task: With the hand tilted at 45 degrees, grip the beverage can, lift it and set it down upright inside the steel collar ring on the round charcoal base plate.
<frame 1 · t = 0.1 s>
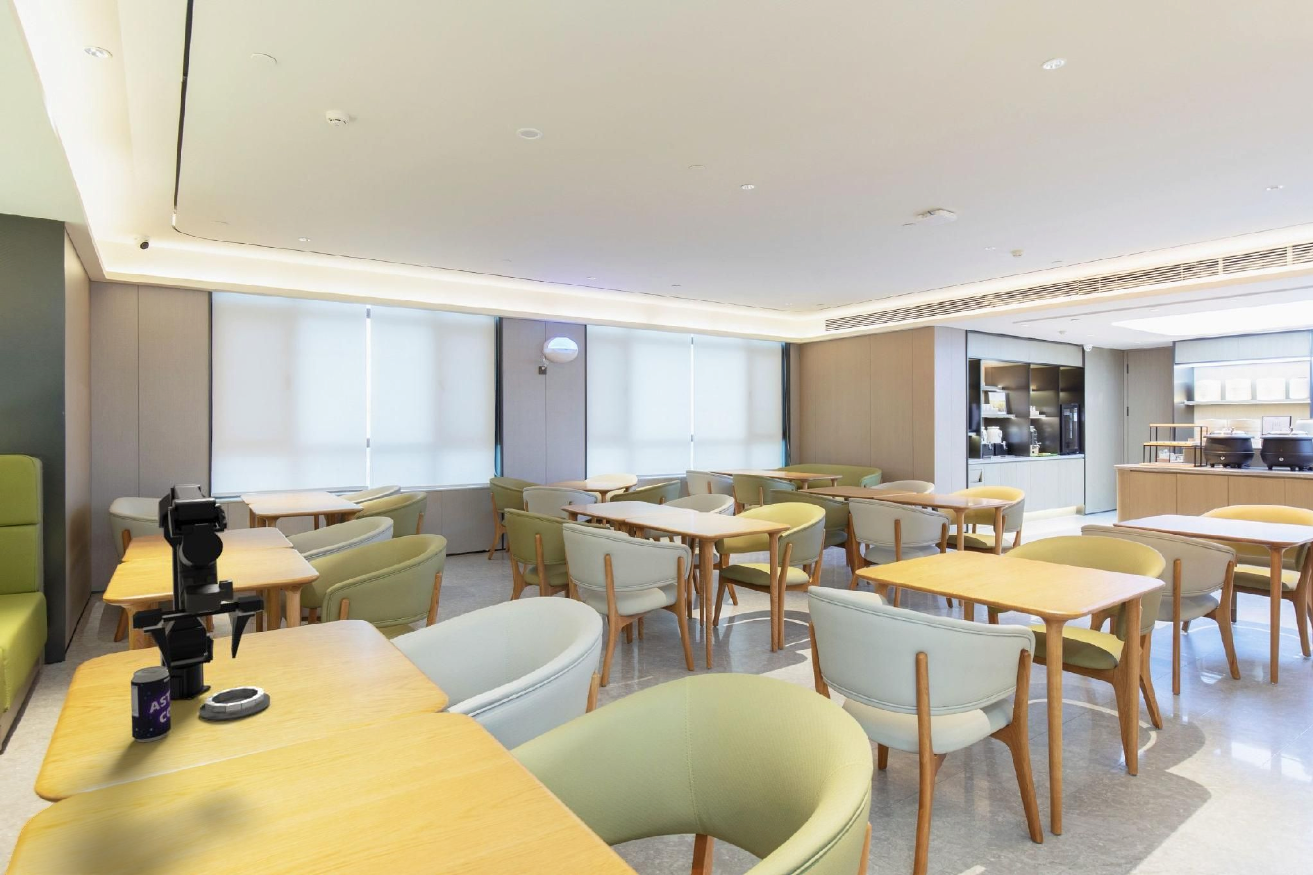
hand: (202, 663, 123), 16 cm above the table, tool pointing down, fingers open, 9 cm apart
beverage can: (151, 738, 130), on the table
collar base: (235, 708, 143), on the table
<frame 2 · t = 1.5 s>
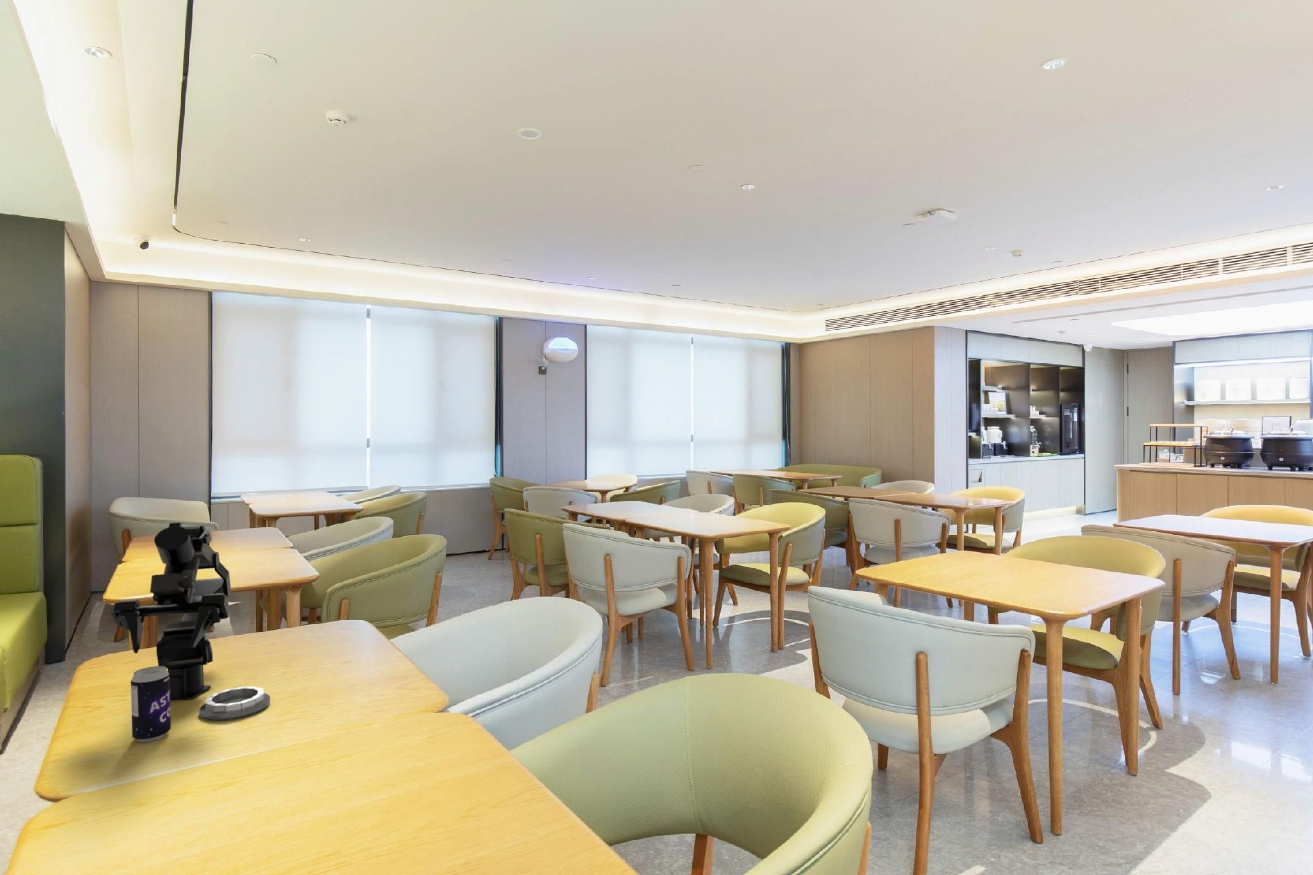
hand: (164, 649, 137), 13 cm above the table, tool tilted 45°, fingers open, 9 cm apart
nothing on the table moved.
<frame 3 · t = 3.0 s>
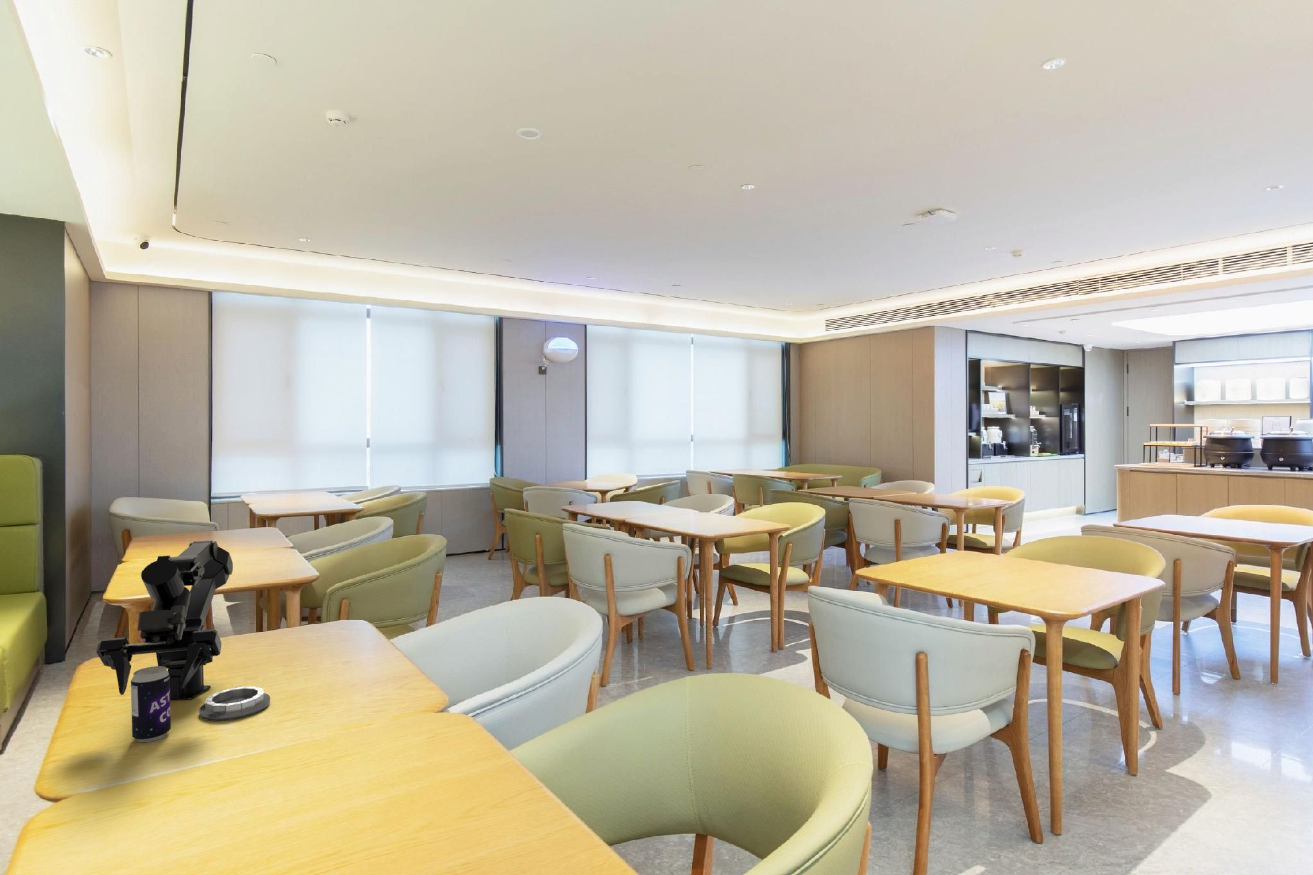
hand: (151, 690, 130), 8 cm above the table, tool tilted 45°, fingers open, 9 cm apart
nothing on the table moved.
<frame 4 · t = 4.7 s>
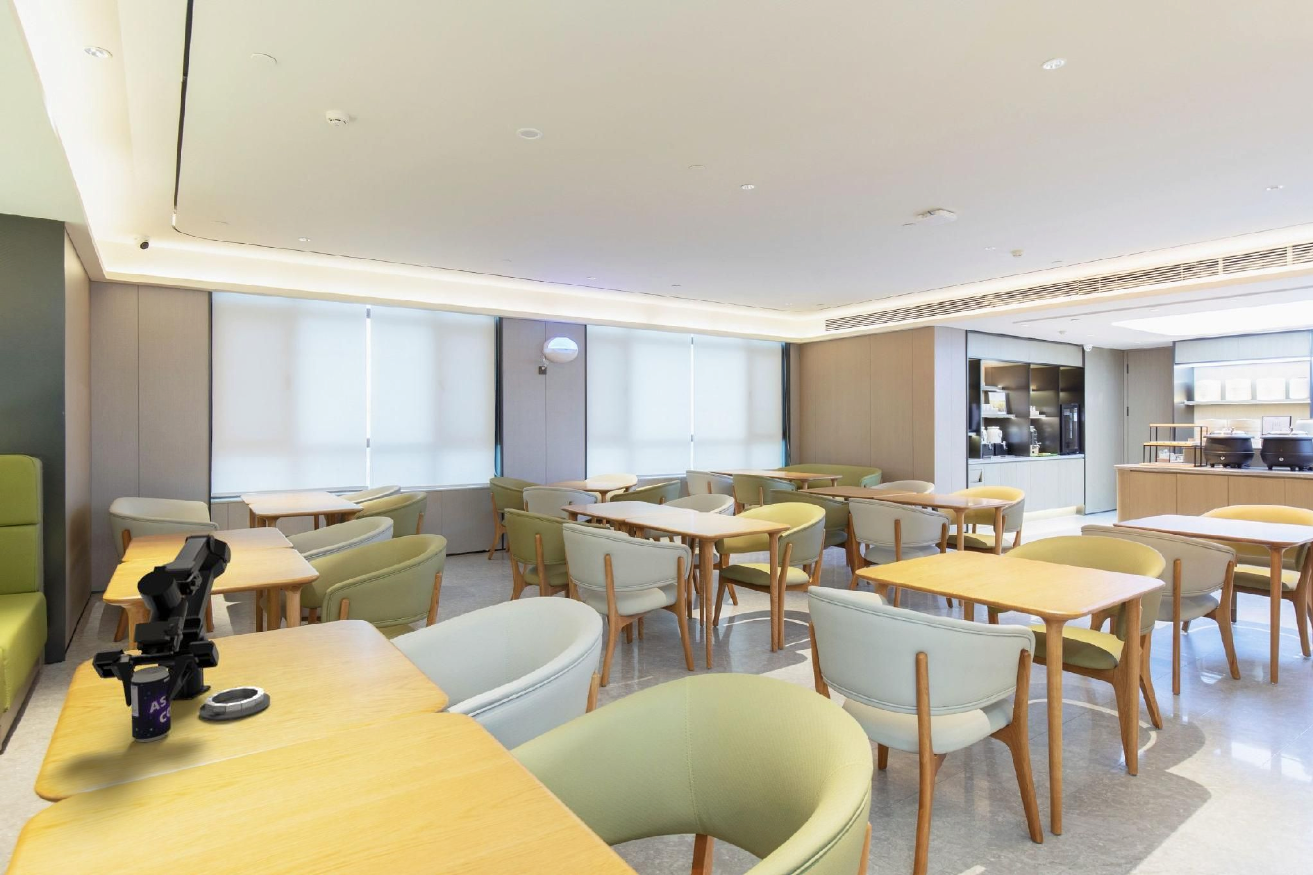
hand: (148, 703, 129), 7 cm above the table, tool tilted 45°, fingers closed on beverage can, 6 cm apart
beverage can: (151, 738, 130), on the table, touching gripper
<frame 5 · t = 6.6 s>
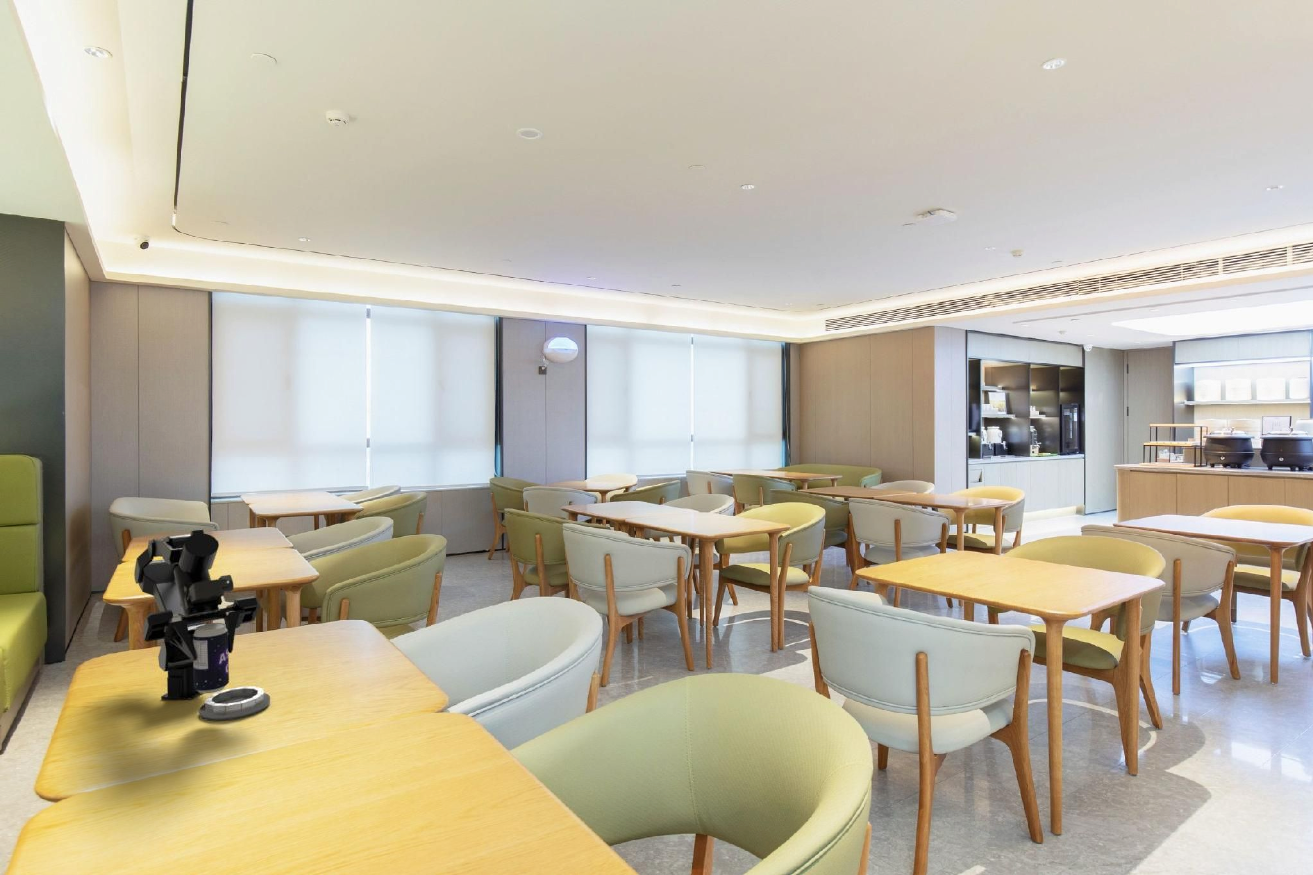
hand: (213, 655, 137), 12 cm above the table, tool tilted 45°, fingers closed on beverage can, 6 cm apart
beverage can: (211, 690, 138), point 5 cm above the table, touching gripper
when the fingers open (9 cm above the table, at t = 8.7 s): beverage can stays where it is, resting on collar base.
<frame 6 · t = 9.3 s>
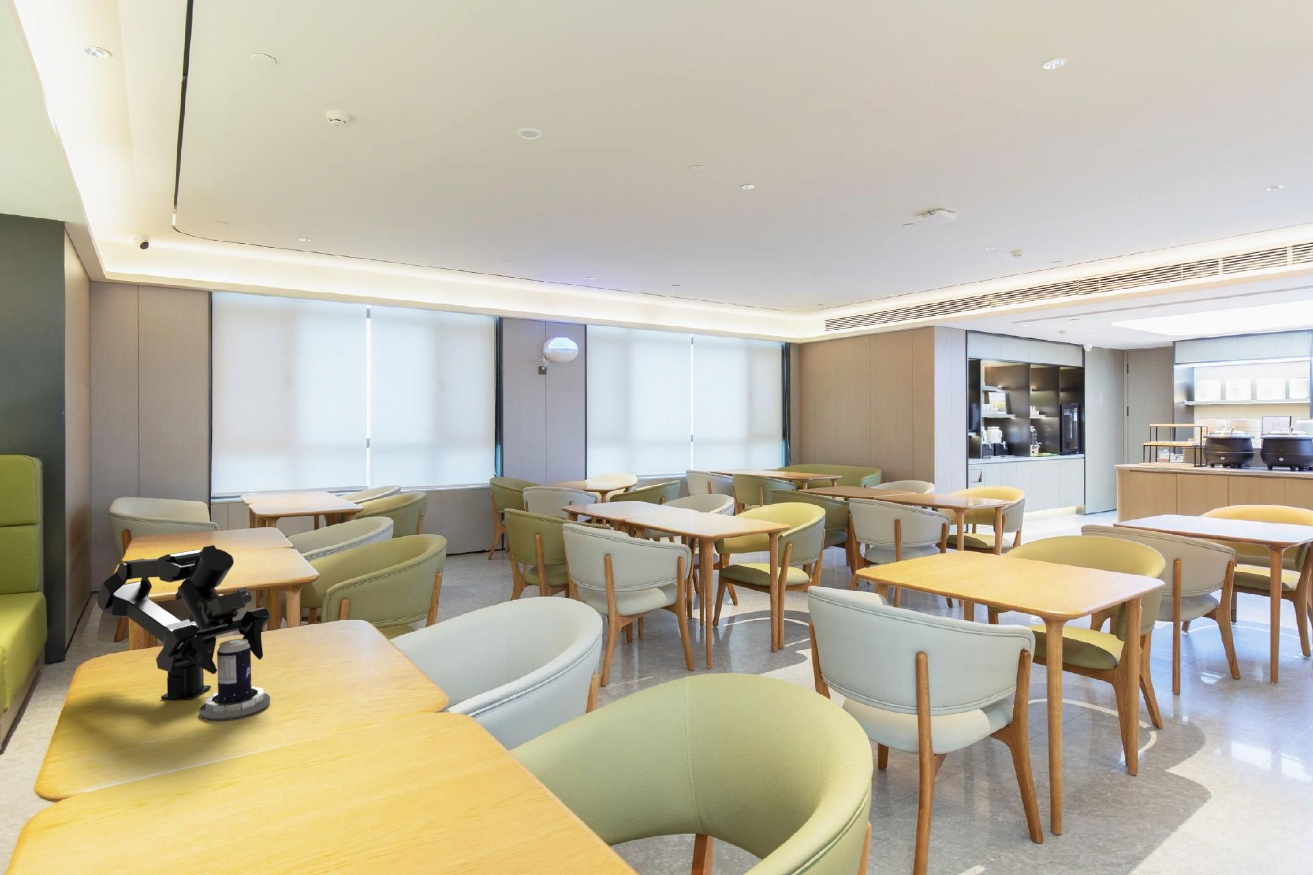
hand: (238, 665, 142), 9 cm above the table, tool tilted 45°, fingers open, 9 cm apart
beverage can: (235, 704, 143), point 1 cm above the table, touching collar base
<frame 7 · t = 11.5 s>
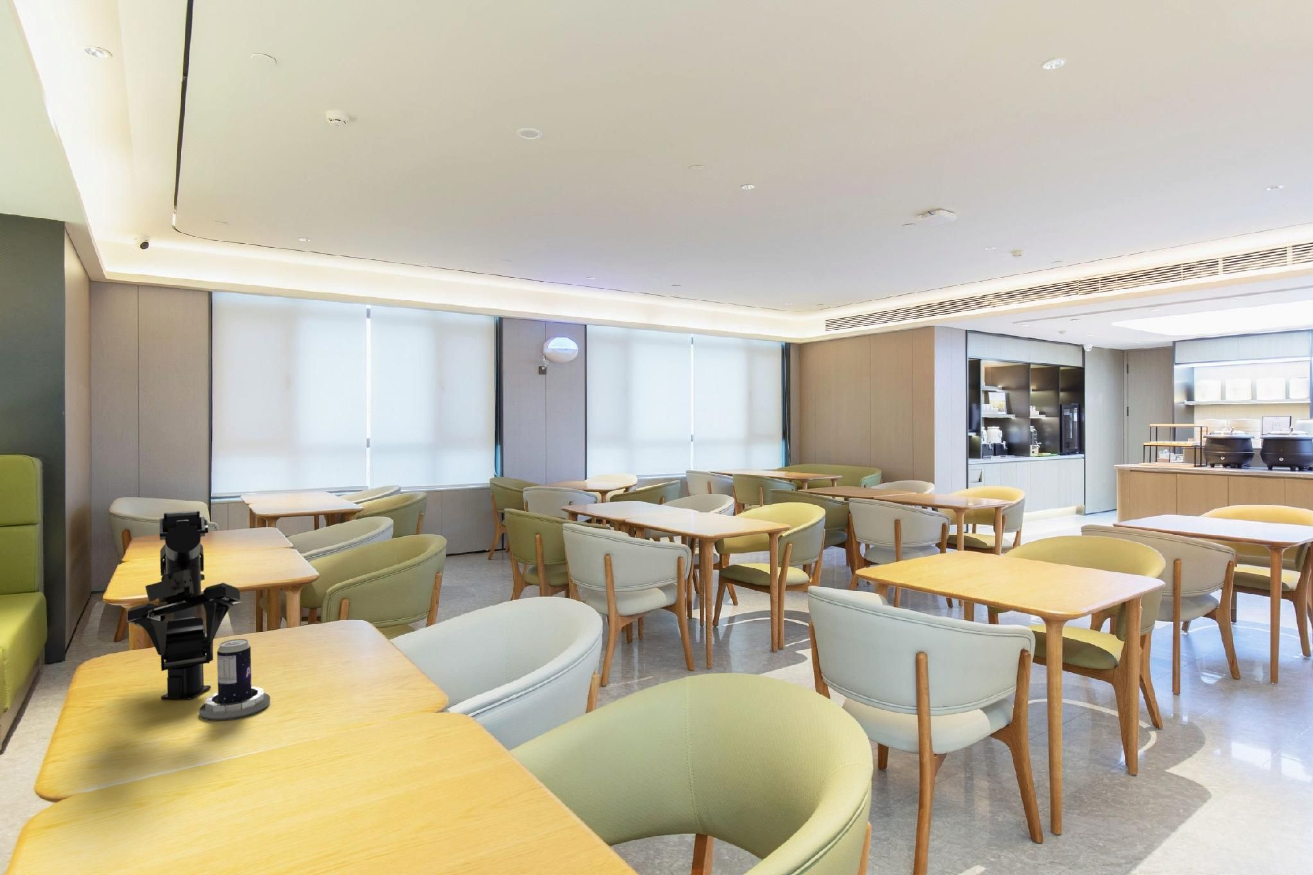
hand: (185, 648, 139), 13 cm above the table, tool tilted 30°, fingers open, 9 cm apart
nothing on the table moved.
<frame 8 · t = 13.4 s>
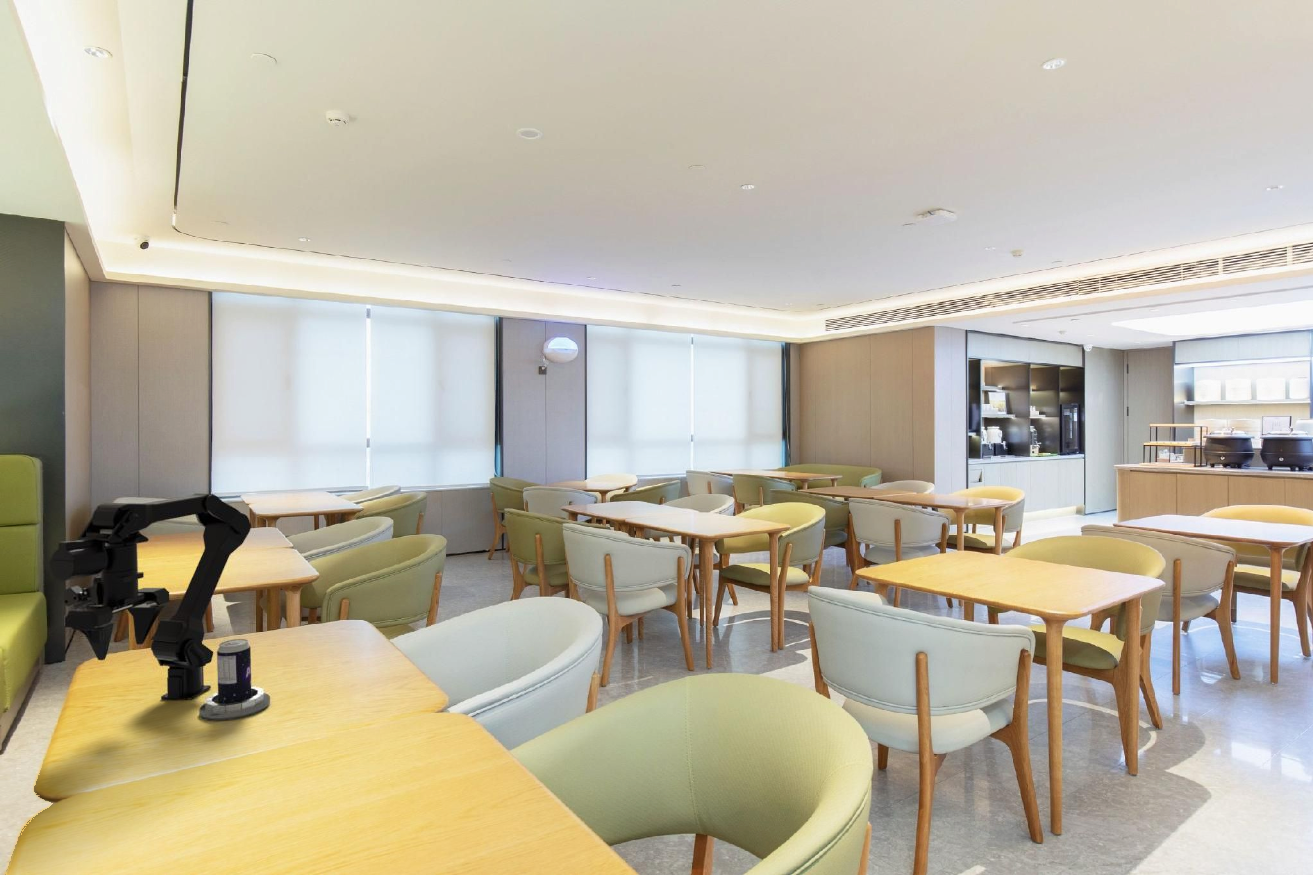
hand: (121, 651, 137), 13 cm above the table, tool pointing down, fingers open, 9 cm apart
nothing on the table moved.
at the end: beverage can 0.1 cm off-centre on the collar base, point 0.8 cm above the collar base's base; beverage can tilted 0°; the gripper is holding nothing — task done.
